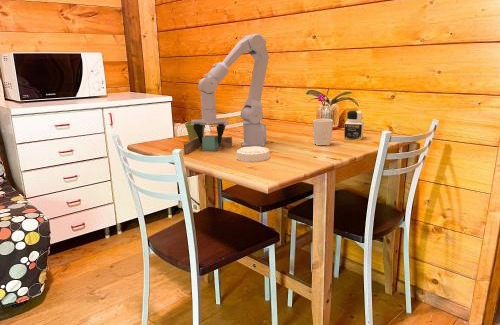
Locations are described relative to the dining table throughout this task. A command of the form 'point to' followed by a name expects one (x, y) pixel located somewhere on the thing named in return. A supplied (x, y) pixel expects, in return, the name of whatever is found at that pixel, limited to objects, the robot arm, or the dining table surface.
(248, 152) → the white flat cylinder
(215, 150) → the mat
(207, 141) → the cube
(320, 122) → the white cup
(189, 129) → the plant pot
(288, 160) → the dining table surface
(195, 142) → the brown corner wall
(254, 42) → the robot arm
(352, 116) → the medicine bottle
